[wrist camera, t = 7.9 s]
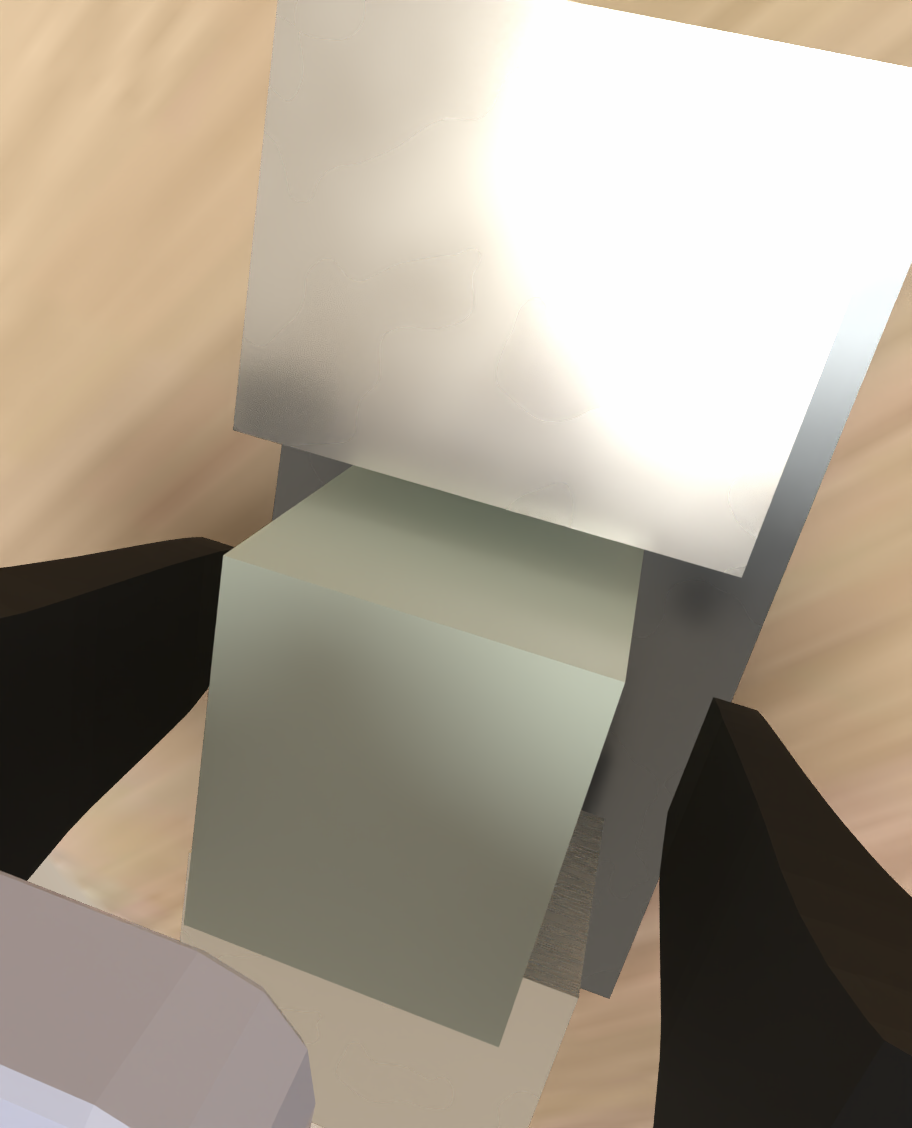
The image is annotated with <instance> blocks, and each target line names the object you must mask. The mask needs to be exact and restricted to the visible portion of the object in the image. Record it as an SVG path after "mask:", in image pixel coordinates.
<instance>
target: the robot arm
mask: <svg viewBox="0 0 912 1128" xmlns="http://www.w3.org/2000/svg"><path fill="white" fill-rule="evenodd" d="M233 548H235V547H232V546H229V545H226V544H223V543H219V542H216V541H213V540H210V539H207V538H203V537H196V538H182V539H175V540H168V541H161V542H156V543H150V544H144V545H139V546H133V547H128V548H122V549H117V550H111V551H106V552H100V553H95V554H89V555H84V556H78V557H72V558H65V559H59V560H52V561H45V562H39V563H32V564H26V565H19V566H12V567H4V568H0V1128H310V1127H311V1122H312V1117H313V1113H314V1108H315V1104H316V1103H315V1096H314V1090H313V1083H312V1076H311V1069H310V1062H309V1056H308V1049H307V1047H306V1045H305V1044H304V1042H303V1040H302V1038H301V1036H300V1035H299V1034H298V1032H297V1031H296V1030H295V1028H294V1027H293V1026H292V1024H291V1023H290V1022H289V1020H288V1019H287V1018H286V1017H285V1015H284V1014H283V1013H282V1011H281V1010H280V1009H279V1007H278V1006H277V1005H276V1003H275V1002H274V1001H273V999H272V998H271V997H270V996H269V994H268V993H267V992H266V990H265V989H264V988H263V987H262V986H261V985H259V984H257V983H256V982H254V981H253V980H251V979H249V978H248V977H246V976H245V975H243V974H241V973H240V972H238V971H236V970H235V969H233V968H232V967H230V966H228V965H227V964H225V963H223V962H222V961H220V960H219V959H217V958H215V957H214V956H212V955H211V954H209V953H207V952H206V951H204V950H201V949H198V948H196V947H193V946H191V945H188V944H186V943H183V942H181V941H178V940H176V939H173V938H171V937H168V936H165V935H163V934H160V933H158V932H155V931H153V930H150V929H148V928H145V927H142V926H140V925H137V924H135V923H132V922H130V921H127V920H125V919H122V918H120V917H117V916H114V915H112V914H109V913H107V912H104V911H102V910H99V909H97V908H94V907H92V906H89V905H86V904H84V903H81V902H79V901H76V900H74V899H71V898H69V897H66V896H63V895H61V894H58V893H56V892H53V891H51V890H48V889H46V888H43V887H41V886H38V885H35V884H33V883H30V882H28V881H27V880H28V879H29V878H30V877H31V875H32V874H33V873H34V872H35V871H36V869H37V868H38V867H39V866H40V865H41V863H42V862H43V861H44V860H45V859H46V857H47V856H48V855H49V854H50V853H51V851H52V850H53V849H54V848H55V847H56V845H57V844H58V843H59V842H60V841H61V839H62V838H63V837H64V836H65V835H66V833H67V832H68V831H69V830H70V829H71V828H72V827H73V826H74V825H75V824H76V823H77V822H78V821H79V820H80V818H81V817H82V816H83V815H84V814H85V813H86V812H87V811H88V810H89V809H90V808H91V807H92V806H93V805H94V804H95V803H96V802H97V801H98V800H99V799H100V798H101V797H102V796H103V795H104V794H106V793H107V792H108V791H109V790H110V789H111V788H112V787H113V786H114V785H115V784H116V783H117V782H118V781H119V780H120V779H121V778H122V777H123V776H124V775H125V774H126V773H127V772H128V771H129V770H130V769H131V768H132V767H134V766H135V765H136V764H137V763H138V762H139V761H140V760H141V759H142V758H143V757H144V756H145V755H146V754H147V753H148V752H149V751H150V750H151V749H152V748H153V747H154V746H155V745H156V744H157V743H158V742H159V741H160V740H161V739H162V738H163V737H164V736H165V735H166V734H168V733H169V732H170V731H171V730H172V729H173V728H174V727H175V726H176V725H177V724H178V723H179V722H180V721H181V720H182V719H183V718H184V717H185V716H186V715H187V714H188V713H189V712H190V710H191V709H192V708H193V707H194V705H195V704H196V703H197V702H198V700H199V699H200V698H201V696H202V695H203V694H204V693H205V691H206V690H207V689H208V687H209V684H210V675H211V665H212V656H213V647H214V637H215V628H216V619H217V609H218V600H219V590H220V581H221V572H222V562H223V555H224V554H226V553H227V552H229V551H230V550H232V549H233ZM659 893H660V978H661V1041H660V1062H659V1072H658V1083H657V1094H656V1104H655V1115H654V1126H653V1128H912V897H911V896H910V895H909V894H908V893H907V892H906V891H905V890H904V889H903V888H902V887H901V886H900V885H899V884H898V883H897V882H896V881H895V880H894V879H893V878H892V877H891V876H890V875H889V874H888V873H887V872H886V871H885V870H884V869H883V868H882V867H881V866H880V865H879V864H878V863H877V861H876V860H875V859H874V858H873V857H872V856H871V855H870V854H869V852H868V851H867V850H866V849H865V848H864V847H863V845H862V844H861V843H860V842H859V841H858V840H857V839H856V837H855V836H854V835H853V834H852V833H851V832H850V830H849V829H848V828H847V827H846V826H845V825H844V823H843V822H842V821H841V820H840V818H839V817H838V816H837V815H836V814H835V812H834V811H833V810H832V809H831V807H830V806H829V805H828V804H827V802H826V801H825V800H824V798H823V797H822V796H821V795H820V793H819V792H818V791H817V789H816V788H815V787H814V785H813V784H812V783H811V781H810V780H809V779H808V777H807V776H806V775H805V773H804V772H803V771H802V769H801V768H800V767H799V765H798V764H797V762H796V761H795V760H794V758H793V757H792V756H791V754H790V753H789V751H788V750H787V749H786V747H785V746H784V744H783V743H782V742H781V740H780V739H779V738H778V736H777V735H776V733H775V732H774V731H773V729H772V728H771V727H770V725H769V724H768V723H767V721H766V720H765V719H764V717H763V716H762V715H761V714H760V713H759V712H758V711H757V710H754V709H750V708H747V707H744V706H741V705H738V704H734V703H731V702H728V701H725V700H722V699H718V698H715V697H713V699H712V702H711V704H710V707H709V709H708V712H707V714H706V717H705V719H704V722H703V724H702V727H701V729H700V732H699V734H698V737H697V739H696V742H695V744H694V747H693V749H692V752H691V754H690V757H689V759H688V762H687V764H686V767H685V769H684V772H683V774H682V777H681V779H680V782H679V784H678V787H677V789H676V792H675V794H674V797H673V799H672V802H671V805H670V807H669V810H668V812H667V819H666V826H665V834H664V841H663V849H662V857H661V866H660V881H659Z"/></svg>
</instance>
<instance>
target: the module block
mask: <svg viewBox="0 0 912 1128" xmlns="http://www.w3.org/2000/svg"><path fill="white" fill-rule="evenodd" d="M643 554H644V549H641V548H638V547H634V546H631V545H627V544H624V543H620V542H617V541H613V540H610V539H607V538H603V537H600V536H596V535H593V534H589V533H586V532H582V531H579V530H575V529H572V528H569V527H565V526H562V525H558V524H555V523H551V522H548V521H544V520H541V519H538V518H534V517H531V516H527V515H524V514H520V513H517V512H513V511H510V510H507V509H503V508H500V507H496V506H493V505H489V504H486V503H482V502H479V501H476V500H472V499H469V498H465V497H462V496H458V495H455V494H451V493H448V492H444V491H441V490H438V489H434V488H431V487H427V486H424V485H420V484H417V483H413V482H410V481H407V480H403V479H400V478H396V477H393V476H389V475H386V474H382V473H379V472H376V471H372V470H369V469H365V468H362V467H358V466H355V465H353V466H351V467H350V468H348V469H347V470H346V471H344V472H343V473H341V474H340V475H338V476H337V477H335V478H334V479H333V480H331V481H330V482H328V483H327V484H325V485H324V486H322V487H321V488H320V489H318V490H317V491H315V492H314V493H312V494H311V495H309V496H308V497H307V498H305V499H304V500H302V501H301V502H299V503H298V504H297V505H295V506H294V507H292V508H291V509H289V510H288V511H286V512H285V513H284V514H282V515H281V516H279V517H278V518H276V519H275V520H273V521H272V522H271V523H269V524H268V525H266V526H265V527H263V528H262V529H260V530H259V531H258V532H256V533H255V534H253V535H252V536H250V537H249V538H247V539H246V540H245V541H243V542H242V543H240V544H239V545H237V546H236V547H235V548H233V549H232V550H230V551H229V552H227V553H226V554H224V555H223V562H222V572H221V581H220V590H219V600H218V609H217V619H216V628H215V637H214V647H213V656H212V665H211V675H210V684H209V693H208V703H207V712H206V721H205V731H204V740H203V749H202V759H201V768H200V777H199V787H198V796H197V805H196V815H195V824H194V833H193V843H192V852H191V861H190V871H189V880H188V889H187V899H186V908H185V917H184V925H186V926H189V927H191V928H194V929H196V930H199V931H202V932H204V933H207V934H209V935H212V936H214V937H217V938H219V939H222V940H225V941H227V942H230V943H232V944H235V945H237V946H240V947H243V948H245V949H248V950H250V951H253V952H255V953H258V954H260V955H263V956H266V957H268V958H271V959H273V960H276V961H278V962H281V963H284V964H286V965H289V966H291V967H294V968H296V969H299V970H301V971H304V972H307V973H309V974H312V975H314V976H317V977H319V978H322V979H324V980H327V981H330V982H332V983H335V984H337V985H340V986H342V987H345V988H348V989H350V990H353V991H355V992H358V993H360V994H363V995H365V996H368V997H371V998H373V999H376V1000H378V1001H381V1002H383V1003H386V1004H389V1005H391V1006H394V1007H396V1008H399V1009H401V1010H404V1011H406V1012H409V1013H412V1014H414V1015H417V1016H419V1017H422V1018H424V1019H427V1020H430V1021H432V1022H435V1023H437V1024H440V1025H442V1026H445V1027H447V1028H450V1029H453V1030H455V1031H458V1032H460V1033H463V1034H465V1035H468V1036H471V1037H473V1038H476V1039H478V1040H481V1041H483V1042H486V1043H488V1044H491V1045H494V1046H496V1047H499V1045H500V1043H501V1040H502V1037H503V1034H504V1031H505V1028H506V1025H507V1022H508V1019H509V1017H510V1014H511V1011H512V1008H513V1005H514V1002H515V999H516V996H517V993H518V991H519V988H520V985H521V982H522V979H523V976H524V973H525V970H526V967H527V965H528V962H529V959H530V956H531V953H532V950H533V947H534V944H535V941H536V939H537V936H538V933H539V930H540V927H541V924H542V921H543V918H544V915H545V913H546V910H547V907H548V904H549V901H550V898H551V895H552V892H553V889H554V887H555V884H556V881H557V878H558V875H559V872H560V869H561V866H562V863H563V861H564V858H565V855H566V852H567V849H568V846H569V843H570V840H571V837H572V835H573V832H574V829H575V826H576V823H577V820H578V817H579V814H580V811H581V809H582V806H583V803H584V800H585V797H586V794H587V791H588V788H589V785H590V783H591V780H592V777H593V774H594V771H595V768H596V765H597V762H598V759H599V757H600V754H601V751H602V748H603V745H604V742H605V739H606V736H607V733H608V731H609V728H610V725H611V722H612V719H613V716H614V713H615V710H616V707H617V705H618V702H619V699H620V696H621V693H622V690H623V687H624V684H625V680H626V673H627V666H628V659H629V652H630V645H631V638H632V631H633V624H634V617H635V610H636V603H637V596H638V589H639V582H640V575H641V568H642V561H643Z"/></svg>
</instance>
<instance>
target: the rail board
mask: <svg viewBox="0 0 912 1128" xmlns="http://www.w3.org/2000/svg"><path fill="white" fill-rule="evenodd" d="M911 262H912V68H909V67H904V66H899V65H894V64H889V63H883V62H878V61H873V60H868V59H863V58H858V57H853V56H847V55H842V54H837V53H832V52H827V51H822V50H817V49H812V48H806V47H801V46H796V45H791V44H786V43H781V42H776V41H770V40H765V39H760V38H755V37H750V36H745V35H740V34H734V33H729V32H724V31H719V30H714V29H709V28H704V27H698V26H693V25H688V24H683V23H678V22H673V21H668V20H663V19H657V18H652V17H647V16H642V15H637V14H632V13H627V12H621V11H616V10H611V9H606V8H601V7H596V6H591V5H585V4H580V3H575V2H570V1H565V0H278V3H277V12H276V22H275V32H274V41H273V51H272V60H271V70H270V80H269V89H268V99H267V109H266V118H265V128H264V137H263V147H262V157H261V166H260V176H259V185H258V195H257V205H256V214H255V224H254V234H253V243H252V253H251V262H250V272H249V282H248V291H247V301H246V311H245V320H244V330H243V339H242V349H241V359H240V368H239V378H238V387H237V397H236V407H235V416H234V426H233V430H234V431H238V432H241V433H245V434H248V435H251V436H255V437H258V438H262V439H265V440H269V441H272V442H276V443H279V444H282V448H281V456H280V464H279V471H278V479H277V487H276V495H275V502H274V510H273V518H272V521H273V520H275V519H276V518H278V517H279V516H281V515H282V514H284V513H285V512H286V511H288V510H289V509H291V508H292V507H294V506H295V505H297V504H298V503H299V502H301V501H302V500H304V499H305V498H307V497H308V496H309V495H311V494H312V493H314V492H315V491H317V490H318V489H320V488H321V487H322V486H324V485H325V484H327V483H328V482H330V481H331V480H333V479H334V478H335V477H337V476H338V475H340V474H341V473H343V472H344V471H346V470H347V469H348V468H350V467H351V466H353V465H355V466H358V467H362V468H365V469H369V470H372V471H376V472H379V473H382V474H386V475H389V476H393V477H396V478H400V479H403V480H407V481H410V482H413V483H417V484H420V485H424V486H427V487H431V488H434V489H438V490H441V491H444V492H448V493H451V494H455V495H458V496H462V497H465V498H469V499H472V500H476V501H479V502H482V503H486V504H489V505H493V506H496V507H500V508H503V509H507V510H510V511H513V512H517V513H520V514H524V515H527V516H531V517H534V518H538V519H541V520H544V521H548V522H551V523H555V524H558V525H562V526H565V527H569V528H572V529H575V530H579V531H582V532H586V533H589V534H593V535H596V536H600V537H603V538H607V539H610V540H613V541H617V542H620V543H624V544H627V545H631V546H634V547H638V548H641V549H644V554H643V561H642V568H641V575H640V582H639V589H638V596H637V603H636V610H635V617H634V624H633V631H632V638H631V645H630V652H629V659H628V666H627V673H626V680H625V684H624V687H623V690H622V693H621V696H620V699H619V702H618V705H617V707H616V710H615V713H614V716H613V719H612V722H611V725H610V728H609V731H608V733H607V736H606V739H605V742H604V745H603V748H602V751H601V754H600V757H599V759H598V762H597V765H596V768H595V771H594V774H593V777H592V780H591V783H590V785H589V788H588V791H587V794H586V797H585V800H584V803H583V806H582V809H581V811H580V814H579V817H578V820H577V823H576V826H575V829H574V832H573V835H572V837H571V840H570V843H569V846H568V849H567V852H566V855H565V858H564V861H563V863H562V866H561V869H560V872H559V875H558V878H557V881H556V884H555V887H554V889H553V892H552V895H551V898H550V901H549V904H548V907H547V910H546V913H545V915H544V918H543V921H542V924H541V927H540V930H539V933H538V936H537V939H536V941H535V944H534V947H533V950H532V953H531V956H530V959H529V962H528V965H527V967H526V970H525V973H524V976H523V979H522V982H521V985H520V988H519V991H518V993H517V996H516V999H515V1002H514V1005H513V1008H512V1011H511V1014H510V1017H509V1019H508V1022H507V1025H506V1028H505V1031H504V1034H503V1037H502V1040H501V1043H500V1045H499V1047H496V1046H494V1045H491V1044H488V1043H486V1042H483V1041H481V1040H478V1039H476V1038H473V1037H471V1036H468V1035H465V1034H463V1033H460V1032H458V1031H455V1030H453V1029H450V1028H447V1027H445V1026H442V1025H440V1024H437V1023H435V1022H432V1021H430V1020H427V1019H424V1018H422V1017H419V1016H417V1015H414V1014H412V1013H409V1012H406V1011H404V1010H401V1009H399V1008H396V1007H394V1006H391V1005H389V1004H386V1003H383V1002H381V1001H378V1000H376V999H373V998H371V997H368V996H365V995H363V994H360V993H358V992H355V991H353V990H350V989H348V988H345V987H342V986H340V985H337V984H335V983H332V982H330V981H327V980H324V979H322V978H319V977H317V976H314V975H312V974H309V973H307V972H304V971H301V970H299V969H296V968H294V967H291V966H289V965H286V964H284V963H281V962H278V961H276V960H273V959H271V958H268V957H266V956H263V955H260V954H258V953H255V952H253V951H250V950H248V949H245V948H243V947H240V946H237V945H235V944H232V943H230V942H227V941H225V940H222V939H219V938H217V937H214V936H212V935H209V934H207V933H204V932H202V931H199V930H196V929H194V928H191V927H189V926H186V925H184V917H185V908H186V899H187V889H188V880H189V871H190V861H191V852H192V850H191V851H190V852H189V859H188V868H187V878H186V888H185V897H184V907H183V917H182V926H181V936H180V941H181V942H183V943H186V944H188V945H191V946H193V947H196V948H198V949H201V950H204V951H206V952H207V953H209V954H211V955H212V956H214V957H215V958H217V959H219V960H220V961H222V962H223V963H225V964H227V965H228V966H230V967H232V968H233V969H235V970H236V971H238V972H240V973H241V974H243V975H245V976H246V977H248V978H249V979H251V980H253V981H254V982H256V983H257V984H259V985H261V986H262V987H263V988H264V989H265V990H266V992H267V993H268V994H269V996H270V997H271V998H272V999H273V1001H274V1002H275V1003H276V1005H277V1006H278V1007H279V1009H280V1010H281V1011H282V1013H283V1014H284V1015H285V1017H286V1018H287V1019H288V1020H289V1022H290V1023H291V1024H292V1026H293V1027H294V1028H295V1030H296V1031H297V1032H298V1034H299V1035H300V1036H301V1038H302V1040H303V1042H304V1044H305V1045H306V1047H307V1049H308V1056H309V1062H310V1069H311V1076H312V1083H313V1090H314V1096H315V1103H316V1104H315V1108H314V1113H313V1117H312V1123H315V1124H317V1125H319V1126H322V1127H324V1128H528V1127H529V1124H530V1122H531V1119H532V1117H533V1114H534V1111H535V1109H536V1106H537V1104H538V1101H539V1099H540V1096H541V1093H542V1091H543V1088H544V1086H545V1083H546V1080H547V1078H548V1075H549V1073H550V1070H551V1068H552V1065H553V1062H554V1060H555V1057H556V1055H557V1052H558V1050H559V1047H560V1044H561V1042H562V1039H563V1037H564V1034H565V1032H566V1029H567V1026H568V1024H569V1021H570V1019H571V1016H572V1013H573V1011H574V1008H575V1006H576V1003H577V1001H578V998H579V991H580V988H582V989H584V990H587V991H590V992H592V993H595V994H598V995H600V996H603V997H606V998H609V999H610V996H611V994H612V992H613V989H614V987H615V984H616V982H617V979H618V977H619V974H620V972H621V970H622V967H623V965H624V962H625V960H626V957H627V955H628V952H629V950H630V948H631V945H632V943H633V940H634V938H635V935H636V933H637V931H638V928H639V926H640V923H641V921H642V918H643V916H644V913H645V911H646V909H647V906H648V904H649V901H650V899H651V896H652V894H653V892H654V889H655V887H656V884H657V882H658V879H659V877H660V866H661V857H662V849H663V841H664V834H665V826H666V819H667V812H668V810H669V807H670V805H671V802H672V799H673V797H674V794H675V792H676V789H677V787H678V784H679V782H680V779H681V777H682V774H683V772H684V769H685V767H686V764H687V762H688V759H689V757H690V754H691V752H692V749H693V747H694V744H695V742H696V739H697V737H698V734H699V732H700V729H701V727H702V724H703V722H704V719H705V717H706V714H707V712H708V709H709V707H710V704H711V702H712V699H713V697H715V698H718V699H722V700H725V701H728V702H731V701H732V699H733V696H734V694H735V691H736V689H737V687H738V684H739V682H740V679H741V677H742V674H743V672H744V670H745V667H746V665H747V662H748V660H749V657H750V655H751V652H752V650H753V648H754V645H755V643H756V640H757V638H758V635H759V633H760V631H761V628H762V626H763V623H764V621H765V618H766V616H767V613H768V611H769V609H770V606H771V604H772V601H773V599H774V596H775V594H776V591H777V589H778V587H779V584H780V582H781V579H782V577H783V574H784V572H785V570H786V567H787V565H788V562H789V560H790V557H791V555H792V552H793V550H794V548H795V545H796V543H797V540H798V538H799V535H800V533H801V531H802V528H803V526H804V523H805V521H806V518H807V516H808V513H809V511H810V509H811V506H812V504H813V501H814V499H815V496H816V494H817V491H818V489H819V487H820V484H821V482H822V479H823V477H824V474H825V472H826V470H827V467H828V465H829V462H830V460H831V457H832V455H833V452H834V450H835V448H836V445H837V443H838V440H839V438H840V435H841V433H842V431H843V428H844V426H845V423H846V421H847V418H848V416H849V413H850V411H851V409H852V406H853V404H854V401H855V399H856V396H857V394H858V391H859V389H860V387H861V384H862V382H863V379H864V377H865V374H866V372H867V370H868V367H869V365H870V362H871V360H872V357H873V355H874V352H875V350H876V348H877V345H878V343H879V340H880V338H881V335H882V333H883V330H884V328H885V326H886V323H887V321H888V318H889V316H890V313H891V311H892V309H893V306H894V304H895V301H896V299H897V296H898V294H899V291H900V289H901V287H902V284H903V282H904V279H905V277H906V274H907V272H908V270H909V267H910V265H911Z"/></svg>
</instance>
